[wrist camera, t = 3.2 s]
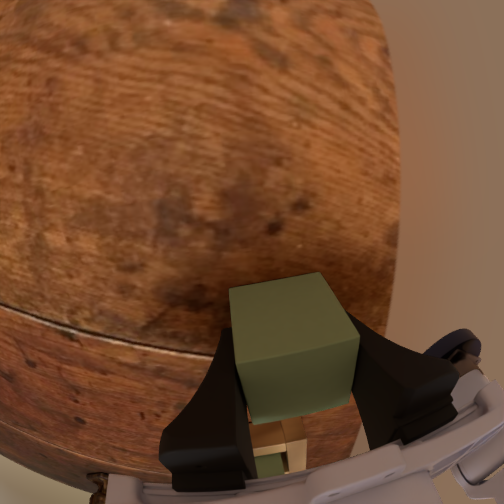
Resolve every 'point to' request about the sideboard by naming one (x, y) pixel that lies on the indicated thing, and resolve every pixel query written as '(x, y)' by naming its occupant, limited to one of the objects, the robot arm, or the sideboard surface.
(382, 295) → the sideboard surface
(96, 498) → the figurine
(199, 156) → the sideboard surface
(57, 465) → the sideboard surface
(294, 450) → the backing frame
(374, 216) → the sideboard surface
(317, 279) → the olive green cubic block
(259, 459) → the green cubic block
